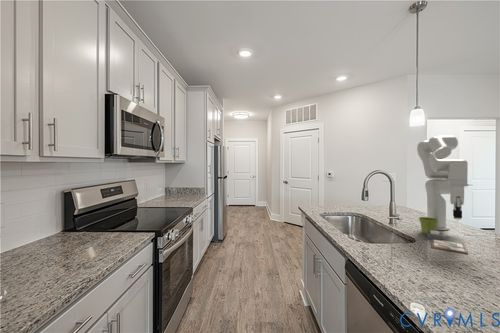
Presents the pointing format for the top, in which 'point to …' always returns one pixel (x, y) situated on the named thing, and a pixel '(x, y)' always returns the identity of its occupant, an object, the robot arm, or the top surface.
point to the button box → (434, 236)
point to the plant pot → (428, 224)
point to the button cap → (434, 232)
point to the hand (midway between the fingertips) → (457, 216)
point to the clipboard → (449, 246)
